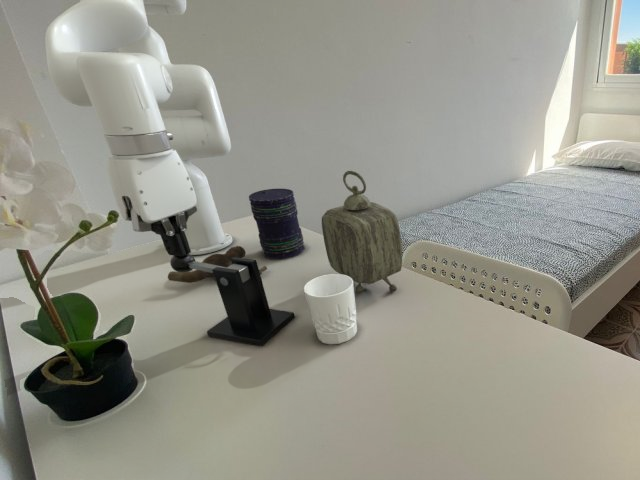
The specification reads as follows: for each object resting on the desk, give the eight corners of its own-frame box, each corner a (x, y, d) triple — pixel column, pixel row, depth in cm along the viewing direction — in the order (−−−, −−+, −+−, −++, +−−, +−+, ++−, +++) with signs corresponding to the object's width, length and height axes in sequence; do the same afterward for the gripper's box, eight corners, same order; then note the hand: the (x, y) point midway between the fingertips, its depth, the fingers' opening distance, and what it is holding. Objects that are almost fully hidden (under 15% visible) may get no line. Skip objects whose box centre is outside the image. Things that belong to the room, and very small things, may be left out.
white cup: (369, 332, 74) (362, 284, 69) (328, 353, 68) (318, 302, 64) (345, 315, 78) (337, 269, 74) (306, 333, 73) (295, 285, 69)
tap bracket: (208, 336, 72) (184, 272, 66) (245, 309, 80) (227, 250, 74) (262, 346, 70) (242, 280, 64) (295, 317, 78) (280, 256, 72)
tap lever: (168, 274, 71) (162, 256, 70) (186, 265, 75) (180, 247, 73) (238, 289, 69) (234, 270, 67) (254, 279, 72) (250, 261, 70)
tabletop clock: (405, 291, 87) (395, 173, 75) (370, 309, 81) (353, 183, 69) (364, 270, 95) (349, 161, 84) (329, 285, 89) (308, 170, 77)
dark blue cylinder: (313, 248, 106) (302, 192, 99) (279, 263, 98) (265, 203, 91) (289, 240, 110) (276, 186, 103) (254, 254, 103) (239, 196, 96)
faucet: (223, 257, 101) (283, 266, 100) (170, 288, 85) (239, 299, 85) (221, 239, 99) (281, 249, 98) (165, 267, 83) (236, 279, 83)
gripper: (164, 136, 70) (198, 236, 78) (67, 153, 57) (119, 270, 65) (201, 137, 68) (231, 239, 77) (109, 155, 55) (157, 276, 64)
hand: (180, 253), depth 71 cm, fingers closed
